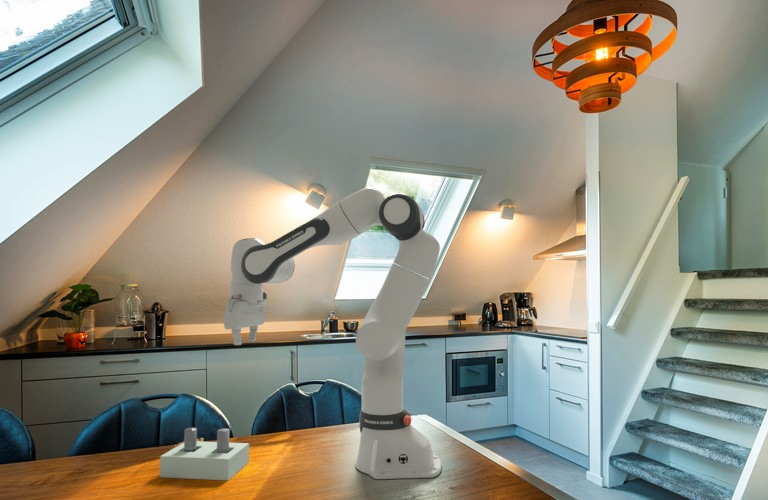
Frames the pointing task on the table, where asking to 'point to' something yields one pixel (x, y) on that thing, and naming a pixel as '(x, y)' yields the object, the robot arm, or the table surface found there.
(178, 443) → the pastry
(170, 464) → the hole block
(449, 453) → the table surface
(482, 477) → the table surface
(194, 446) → the peg
